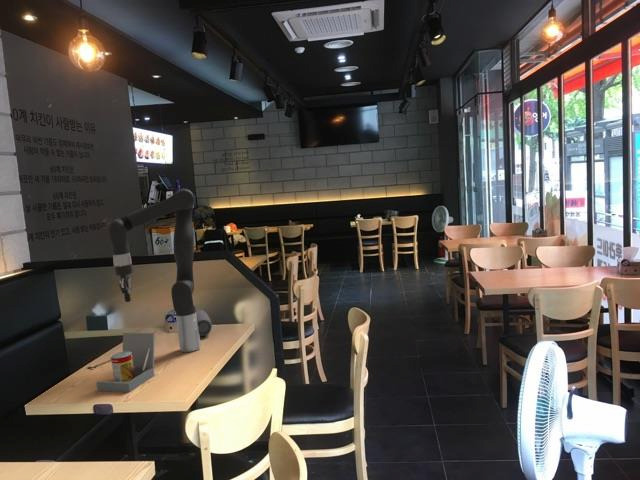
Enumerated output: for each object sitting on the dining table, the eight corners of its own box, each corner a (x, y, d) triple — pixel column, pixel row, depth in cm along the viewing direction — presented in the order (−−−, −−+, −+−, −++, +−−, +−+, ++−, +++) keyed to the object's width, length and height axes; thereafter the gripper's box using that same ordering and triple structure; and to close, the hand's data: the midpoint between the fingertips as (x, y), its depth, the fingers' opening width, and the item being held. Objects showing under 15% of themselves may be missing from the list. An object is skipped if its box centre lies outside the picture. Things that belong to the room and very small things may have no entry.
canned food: (139, 379, 214) (135, 351, 213) (126, 387, 207) (121, 358, 206) (124, 378, 217) (120, 350, 216) (110, 386, 210) (106, 357, 209)
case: (97, 390, 207) (91, 348, 205) (129, 371, 226) (124, 332, 223) (129, 392, 202) (123, 349, 200) (160, 372, 221) (154, 332, 219)
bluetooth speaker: (191, 328, 284) (189, 310, 283) (209, 325, 287) (207, 307, 286) (195, 339, 263) (192, 320, 262) (213, 336, 266) (211, 317, 264)
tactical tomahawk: (95, 373, 231) (95, 370, 231) (86, 369, 234) (86, 367, 234) (136, 356, 248) (135, 353, 248) (127, 353, 251) (126, 351, 251)
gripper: (117, 262, 242) (123, 299, 244) (110, 267, 229) (116, 305, 231) (134, 260, 243) (139, 297, 245) (128, 265, 230) (133, 303, 232)
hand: (128, 301), depth 238 cm, fingers closed
